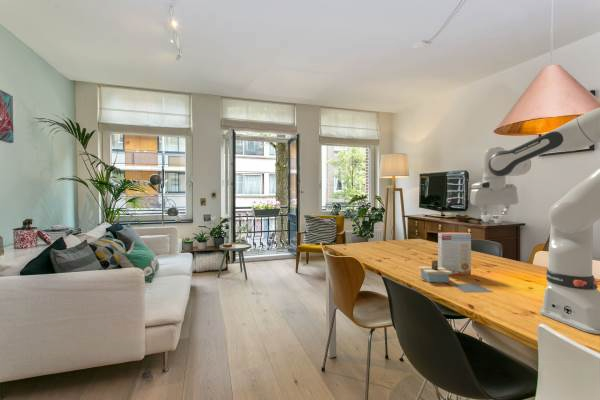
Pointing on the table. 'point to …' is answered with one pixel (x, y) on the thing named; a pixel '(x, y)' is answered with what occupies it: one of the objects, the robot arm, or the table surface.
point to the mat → (471, 287)
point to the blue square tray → (435, 277)
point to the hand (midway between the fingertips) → (494, 215)
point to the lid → (435, 269)
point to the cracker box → (455, 252)
